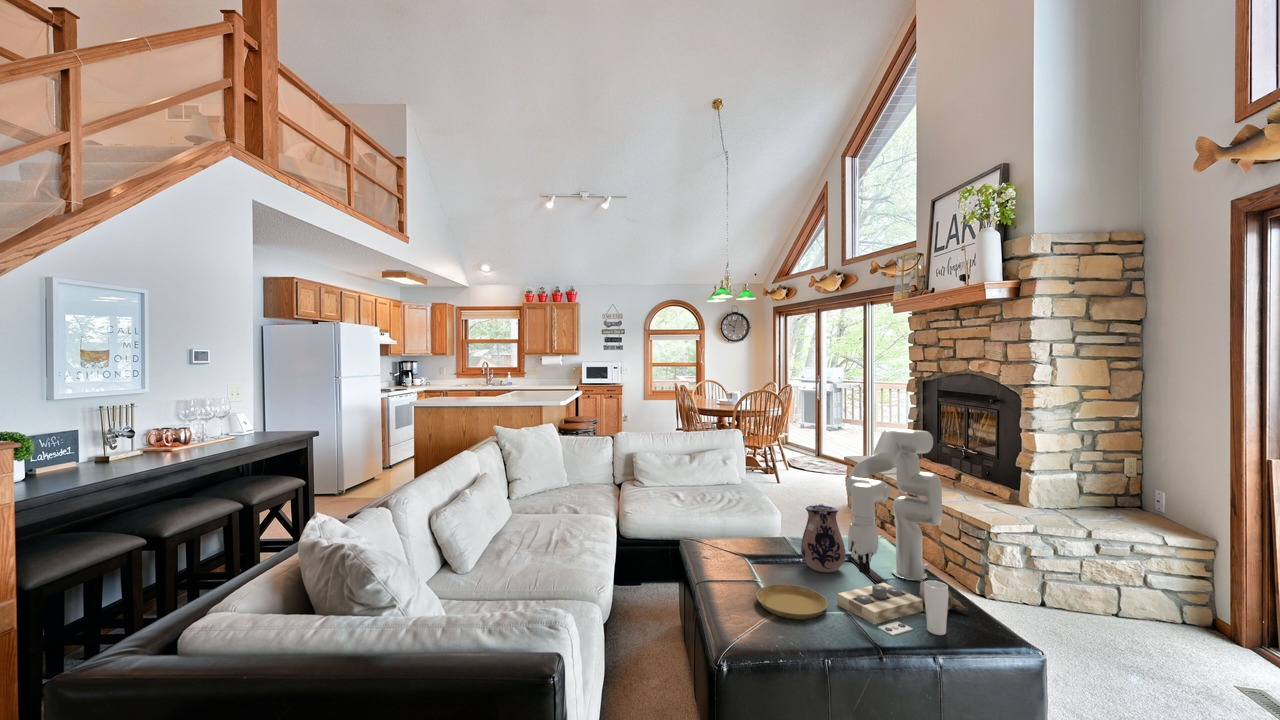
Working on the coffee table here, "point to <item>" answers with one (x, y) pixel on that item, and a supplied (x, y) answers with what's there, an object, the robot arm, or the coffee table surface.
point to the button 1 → (864, 599)
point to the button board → (880, 604)
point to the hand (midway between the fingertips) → (864, 572)
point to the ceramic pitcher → (822, 540)
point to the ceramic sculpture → (951, 601)
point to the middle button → (879, 592)
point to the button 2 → (894, 591)
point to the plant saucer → (792, 601)
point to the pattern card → (895, 628)
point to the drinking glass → (936, 606)
